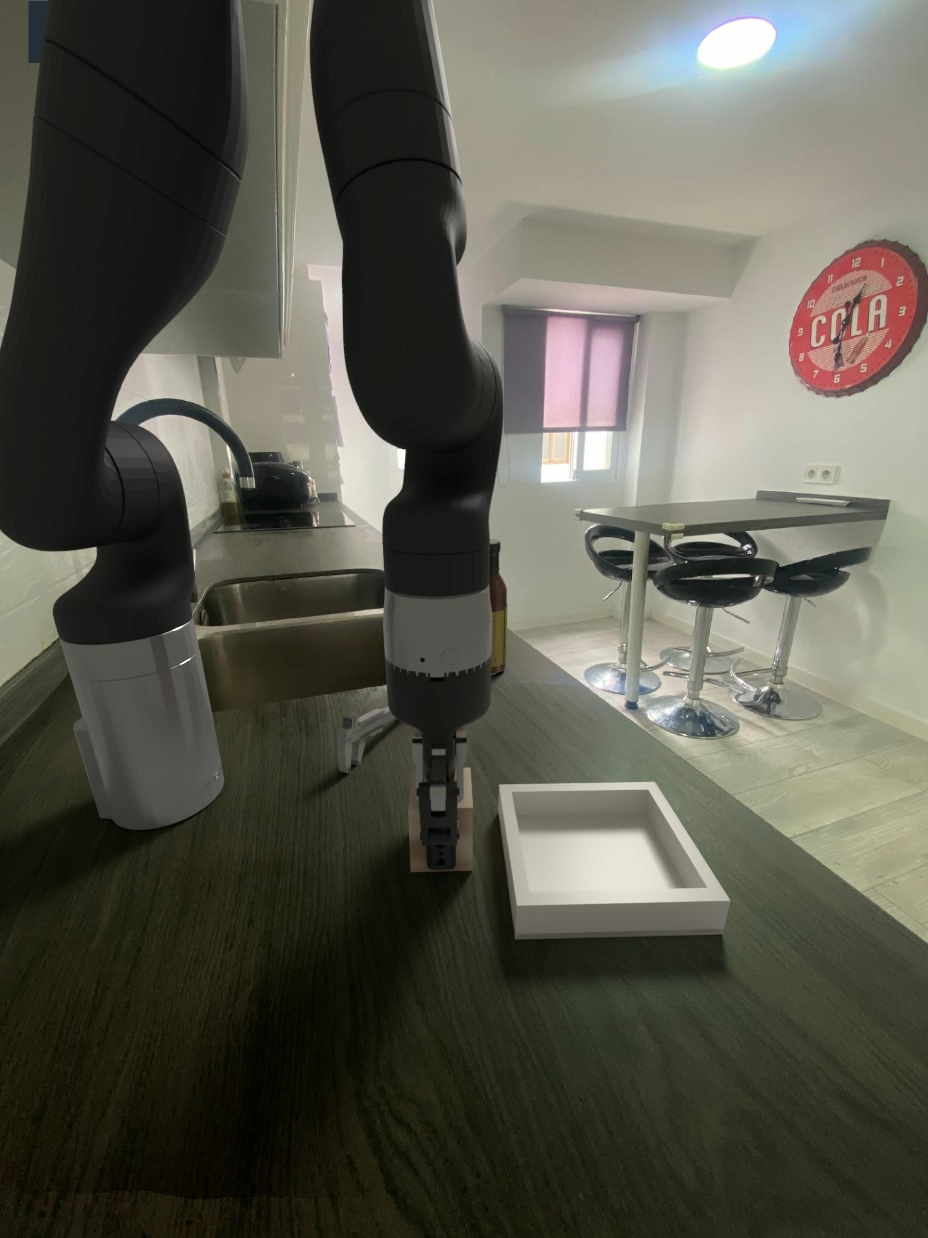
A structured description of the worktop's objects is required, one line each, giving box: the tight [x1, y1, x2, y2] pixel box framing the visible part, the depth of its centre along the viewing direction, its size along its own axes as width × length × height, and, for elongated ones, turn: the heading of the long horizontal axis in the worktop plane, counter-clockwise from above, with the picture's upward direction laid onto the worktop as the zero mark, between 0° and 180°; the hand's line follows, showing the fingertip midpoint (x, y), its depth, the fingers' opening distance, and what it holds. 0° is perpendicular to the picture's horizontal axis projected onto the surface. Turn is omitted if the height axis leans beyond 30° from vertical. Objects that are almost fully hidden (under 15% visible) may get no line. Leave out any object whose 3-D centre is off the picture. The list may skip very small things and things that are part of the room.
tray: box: [497, 781, 731, 941], centre depth 37 cm, size 14×12×3 cm
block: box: [407, 767, 474, 873], centre depth 38 cm, size 5×5×6 cm
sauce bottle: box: [489, 538, 508, 674], centre depth 69 cm, size 7×6×20 cm
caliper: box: [336, 705, 396, 775], centre depth 56 cm, size 20×1×6 cm, turn 157°
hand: (442, 838), depth 38 cm, fingers closed on block, 4 cm apart
